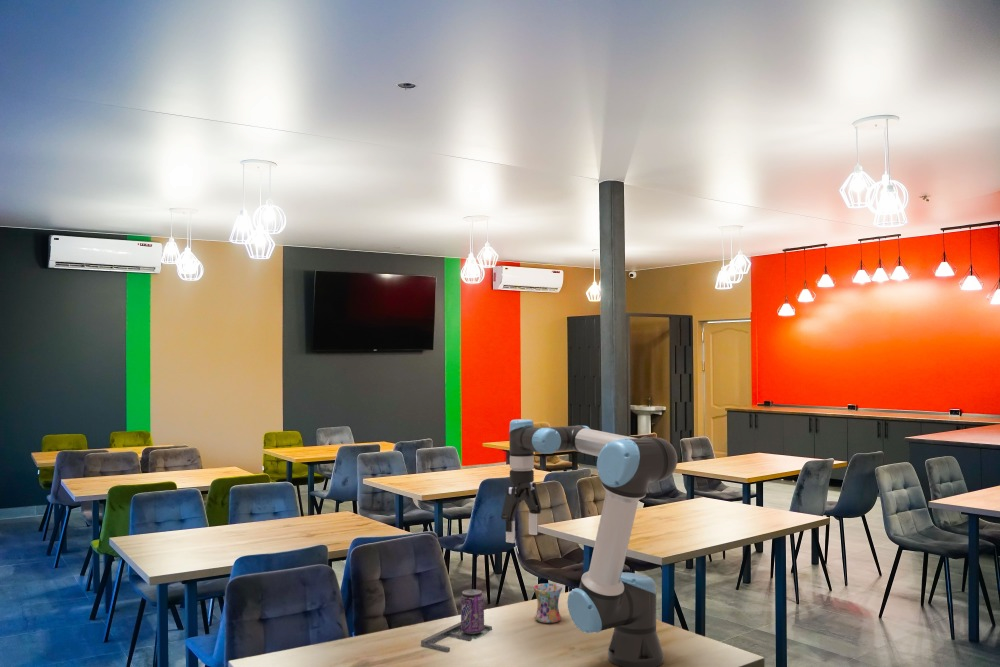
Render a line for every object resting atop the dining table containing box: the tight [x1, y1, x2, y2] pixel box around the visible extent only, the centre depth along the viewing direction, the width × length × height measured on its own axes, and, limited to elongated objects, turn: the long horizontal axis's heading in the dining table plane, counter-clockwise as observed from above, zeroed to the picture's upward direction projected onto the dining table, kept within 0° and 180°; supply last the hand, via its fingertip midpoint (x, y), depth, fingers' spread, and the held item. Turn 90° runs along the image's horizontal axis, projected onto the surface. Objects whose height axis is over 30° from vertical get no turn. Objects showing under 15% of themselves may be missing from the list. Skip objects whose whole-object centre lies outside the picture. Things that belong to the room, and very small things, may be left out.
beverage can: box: [460, 588, 485, 634], centre depth 235 cm, size 7×7×12 cm
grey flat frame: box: [420, 621, 493, 653], centre depth 231 cm, size 10×23×2 cm, turn 147°
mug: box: [533, 582, 563, 624], centre depth 248 cm, size 12×9×11 cm
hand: (522, 538), depth 236 cm, fingers open, 13 cm apart
